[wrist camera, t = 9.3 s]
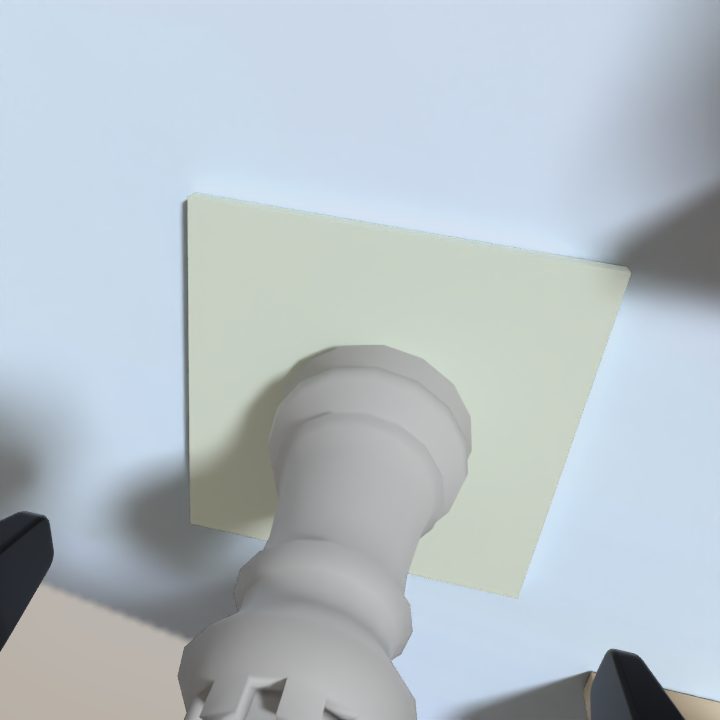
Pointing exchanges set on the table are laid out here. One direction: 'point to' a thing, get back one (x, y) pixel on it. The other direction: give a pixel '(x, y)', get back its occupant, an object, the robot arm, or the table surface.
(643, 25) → the table surface
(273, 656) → the rook chess piece
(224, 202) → the sage mat
